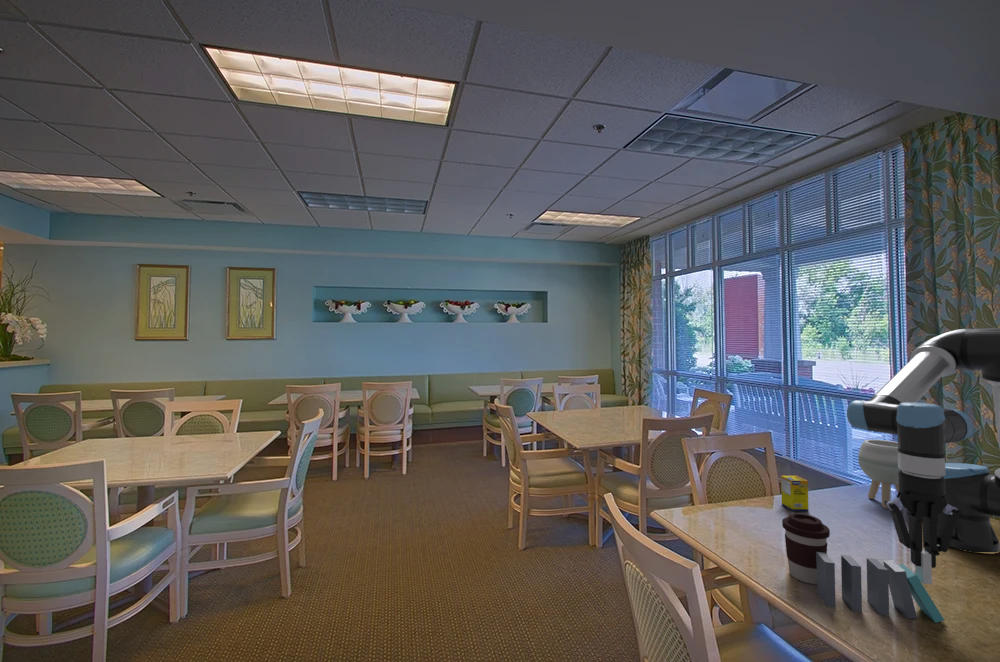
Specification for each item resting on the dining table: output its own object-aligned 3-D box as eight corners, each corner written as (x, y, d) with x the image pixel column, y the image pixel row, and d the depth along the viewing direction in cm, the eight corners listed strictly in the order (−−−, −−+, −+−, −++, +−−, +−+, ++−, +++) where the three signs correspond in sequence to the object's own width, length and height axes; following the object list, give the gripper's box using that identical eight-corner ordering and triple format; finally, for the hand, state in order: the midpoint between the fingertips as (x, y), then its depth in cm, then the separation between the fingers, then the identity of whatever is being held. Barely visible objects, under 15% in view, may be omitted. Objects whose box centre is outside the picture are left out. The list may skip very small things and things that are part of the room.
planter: (885, 513, 150) (884, 448, 150) (848, 496, 166) (846, 438, 166) (931, 512, 150) (929, 448, 150) (889, 496, 166) (887, 438, 167)
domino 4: (903, 604, 98) (892, 560, 99) (917, 618, 93) (905, 571, 94) (893, 604, 98) (882, 560, 99) (907, 618, 93) (895, 571, 94)
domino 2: (851, 598, 101) (850, 555, 101) (862, 611, 96) (861, 566, 96) (841, 597, 101) (841, 554, 101) (852, 610, 96) (851, 565, 97)
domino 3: (876, 602, 99) (875, 558, 99) (889, 615, 94) (888, 569, 95) (867, 601, 100) (866, 557, 100) (879, 614, 95) (878, 568, 95)
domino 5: (929, 606, 96) (902, 563, 98) (944, 620, 92) (916, 575, 93) (920, 608, 97) (894, 566, 98) (935, 622, 92) (907, 577, 94)
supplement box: (809, 511, 152) (808, 480, 152) (792, 511, 152) (791, 480, 152) (797, 505, 157) (797, 475, 158) (781, 505, 158) (780, 475, 158)
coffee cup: (833, 592, 103) (831, 530, 103) (783, 580, 108) (782, 520, 109) (828, 573, 111) (827, 515, 112) (782, 563, 117) (781, 507, 117)
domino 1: (825, 595, 102) (825, 552, 102) (835, 607, 97) (834, 563, 98) (817, 593, 103) (816, 551, 103) (826, 606, 98) (825, 562, 98)
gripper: (946, 470, 97) (948, 576, 96) (876, 466, 101) (878, 567, 100) (971, 481, 90) (974, 595, 89) (895, 475, 93) (897, 585, 93)
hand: (923, 580), depth 95 cm, fingers closed
